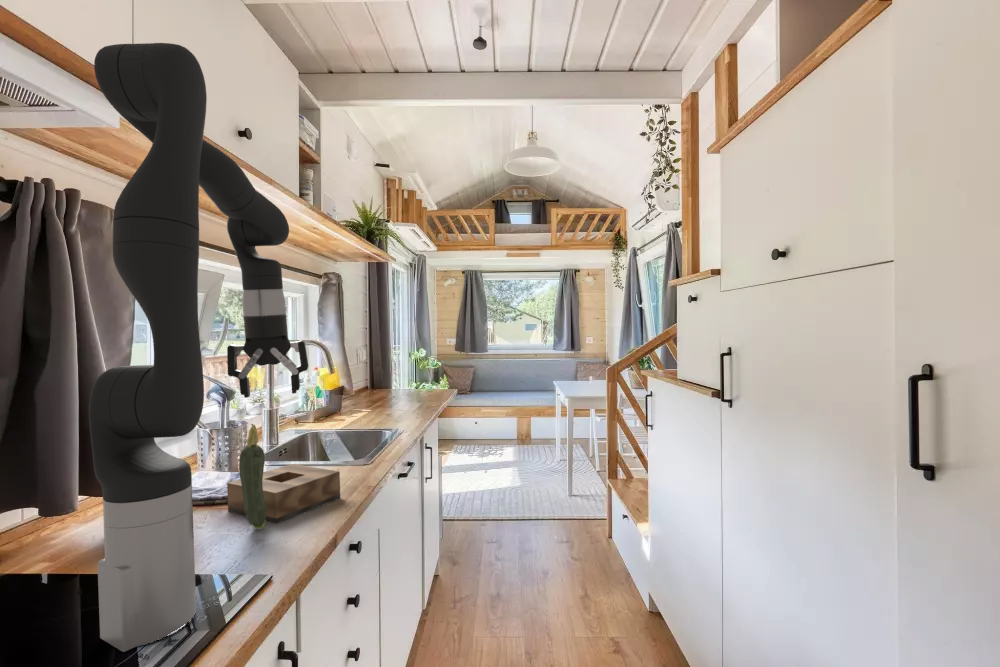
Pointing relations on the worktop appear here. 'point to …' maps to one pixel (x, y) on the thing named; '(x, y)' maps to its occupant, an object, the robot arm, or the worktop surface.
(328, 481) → the socket block
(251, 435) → the vegetable
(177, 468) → the robot arm
